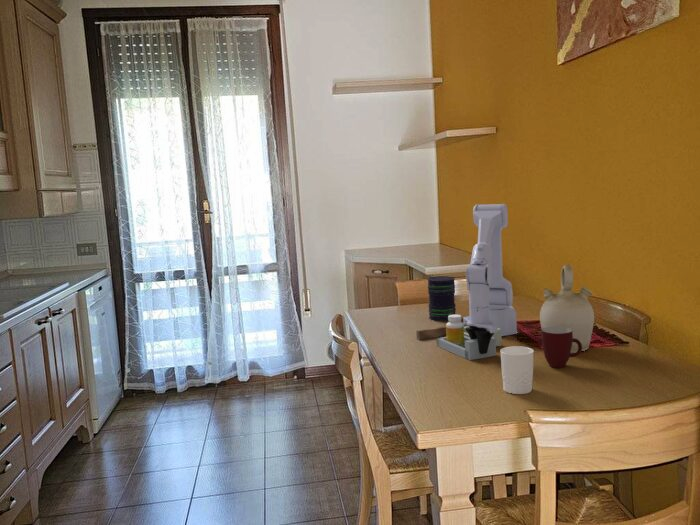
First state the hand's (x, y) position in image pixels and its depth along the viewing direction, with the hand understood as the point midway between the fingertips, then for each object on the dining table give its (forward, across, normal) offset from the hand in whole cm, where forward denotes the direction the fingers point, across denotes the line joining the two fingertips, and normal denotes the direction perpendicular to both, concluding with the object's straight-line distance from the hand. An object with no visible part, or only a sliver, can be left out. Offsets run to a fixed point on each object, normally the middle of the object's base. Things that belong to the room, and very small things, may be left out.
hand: (480, 352), depth 191 cm
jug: (+2, +6, +26) cm, 27 cm away
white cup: (+2, +29, -8) cm, 30 cm away
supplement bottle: (+2, -14, 0) cm, 14 cm away
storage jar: (+2, -49, +16) cm, 52 cm away
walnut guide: (+1, -18, +4) cm, 18 cm away
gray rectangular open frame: (+1, -8, 0) cm, 9 cm away
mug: (+2, +19, +14) cm, 23 cm away
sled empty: (+1, -16, +9) cm, 19 cm away
